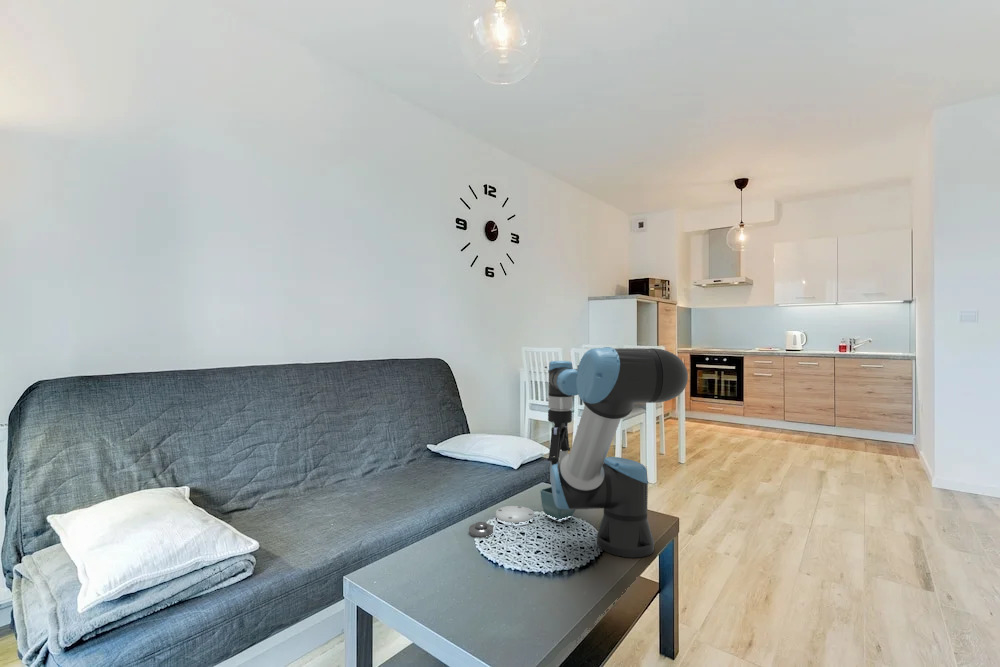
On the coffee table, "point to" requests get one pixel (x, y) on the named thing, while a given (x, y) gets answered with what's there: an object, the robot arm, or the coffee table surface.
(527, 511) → the grey flange
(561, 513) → the flower pot
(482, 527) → the small metal flange
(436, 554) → the coffee table surface
